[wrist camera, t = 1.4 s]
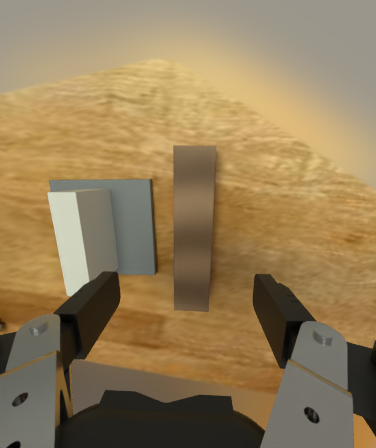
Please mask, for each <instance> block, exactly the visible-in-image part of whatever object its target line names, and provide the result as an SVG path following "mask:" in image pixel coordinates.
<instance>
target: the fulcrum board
mask: <svg viewBox="0 0 376 448" xmlns="http://www.w3.org/2000/svg"><path fill="white" fill-rule="evenodd" d="M49 184H50V189H51V192H47V193H48V199H49V204H50V209H51V214H52V219H53V225H54V230H55V235H56V240H57V245H58V251H59V256H60V261H61V266H62V271H63V277H64V282H65V287H66V292H67V296H72V295H73V294H74V293H76V292H78V290H79V289H80V288H81V287H82V286H83V285H84V284H86V283H88V282H90V281H91V280H94V279H95V278H96V277H97V276H98V275H100V274H101V273H102V272H103V271H116V272H117V273H118V274H127V275H155V274H156V272H157V265H156V247H155V229H154V210H153V192H152V179H136V180H49Z"/></svg>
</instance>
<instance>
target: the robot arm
mask: <svg viewBox="0 0 376 448" xmlns="http://www.w3.org/2000/svg"><path fill="white" fill-rule="evenodd" d="M119 303H120V286H119V277H118V273H117V272H116V271H103V272H102V273H101V274H100V275H98V276H97V277H96V278H95V279H94V280H91V281H90V282H88V283H86V284H84V285H83V286H82V287H81V288H80V289H79V290H78V292H76V293H74V294H73V295H72V297H70V298H69V299H68V300H67V301H66V302H65V303H64V304H63V305H62V306H61V307H59V308H58V309H57V310H56V311H55V312H54V313H53V314H46V315H42V316H39V317H36V318H34V319H32V320H30V321H29V322H27V323H26V324H24V325H23V326H22V327H21V328H20V329H19V330H18V331H17V332H13V333H8V334H3V335H0V448H354V432H353V413H354V414H357V415H359V416H362V417H363V418H364V419H365V421H366V422H367V424H368V425H369V427H370V428H371V430H372V431H373V433H374V434H375V436H376V341H375V343H374V346H373V349H371V348H368V347H364V346H360V345H356V344H352V343H349V342H346V340H345V339H344V337H343V336H342V335H341V334H340V333H339V332H337V331H336V330H335V329H333V328H331V327H330V326H328V325H325V324H323V323H320V322H317V321H316V320H315V319H314V318H313V317H312V315H311V314H310V313H309V312H308V311H307V309H306V308H305V307H304V306H303V305H302V303H300V301H299V300H298V299H297V298H296V297H295V295H294V294H293V293H292V292H291V290H290V289H289V288H287V287H286V286H284V285H283V284H281V283H277V282H276V281H275V280H274V278H273V277H272V276H271V275H270V274H255V278H254V289H253V306H254V310H255V312H256V315H257V317H258V319H259V321H260V324H261V326H262V328H263V331H264V333H265V335H266V338H267V340H268V342H269V344H270V347H271V349H272V351H273V354H274V356H275V358H276V360H277V363H278V365H279V367H280V368H282V369H285V371H284V374H283V377H282V380H281V384H280V387H279V390H278V393H277V396H276V399H275V402H274V406H273V409H272V412H271V415H270V418H269V421H268V424H267V427H266V431H265V430H264V429H263V428H261V427H260V426H259V425H258V424H257V423H256V422H254V421H253V420H251V419H250V418H248V417H247V416H245V415H243V414H242V413H240V412H237V411H235V410H233V406H232V400H231V396H212V395H197V396H193V397H189V398H185V399H181V400H177V401H173V402H170V403H163V402H160V401H158V400H155V399H153V398H150V397H148V396H145V395H143V394H140V393H137V392H132V391H112V390H105V392H104V394H103V396H102V399H101V401H100V403H99V404H95V405H93V406H90V407H88V408H86V409H84V410H82V411H80V412H78V413H77V414H75V415H73V399H72V382H71V369H70V364H71V363H72V361H73V360H74V359H85V358H86V357H87V355H88V354H89V352H90V350H91V349H92V347H93V346H94V344H95V342H96V341H97V339H98V338H99V336H100V334H101V333H102V331H103V330H104V328H105V326H106V325H107V323H108V322H109V320H110V318H111V317H112V315H113V314H114V312H115V310H116V309H117V307H118V305H119Z"/></svg>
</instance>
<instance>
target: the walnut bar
mask: <svg viewBox="0 0 376 448" xmlns="http://www.w3.org/2000/svg"><path fill="white" fill-rule="evenodd" d="M215 165H216V146H174V310H184V311H202V312H209V291H210V270H211V249H212V228H213V207H214V186H215Z"/></svg>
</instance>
